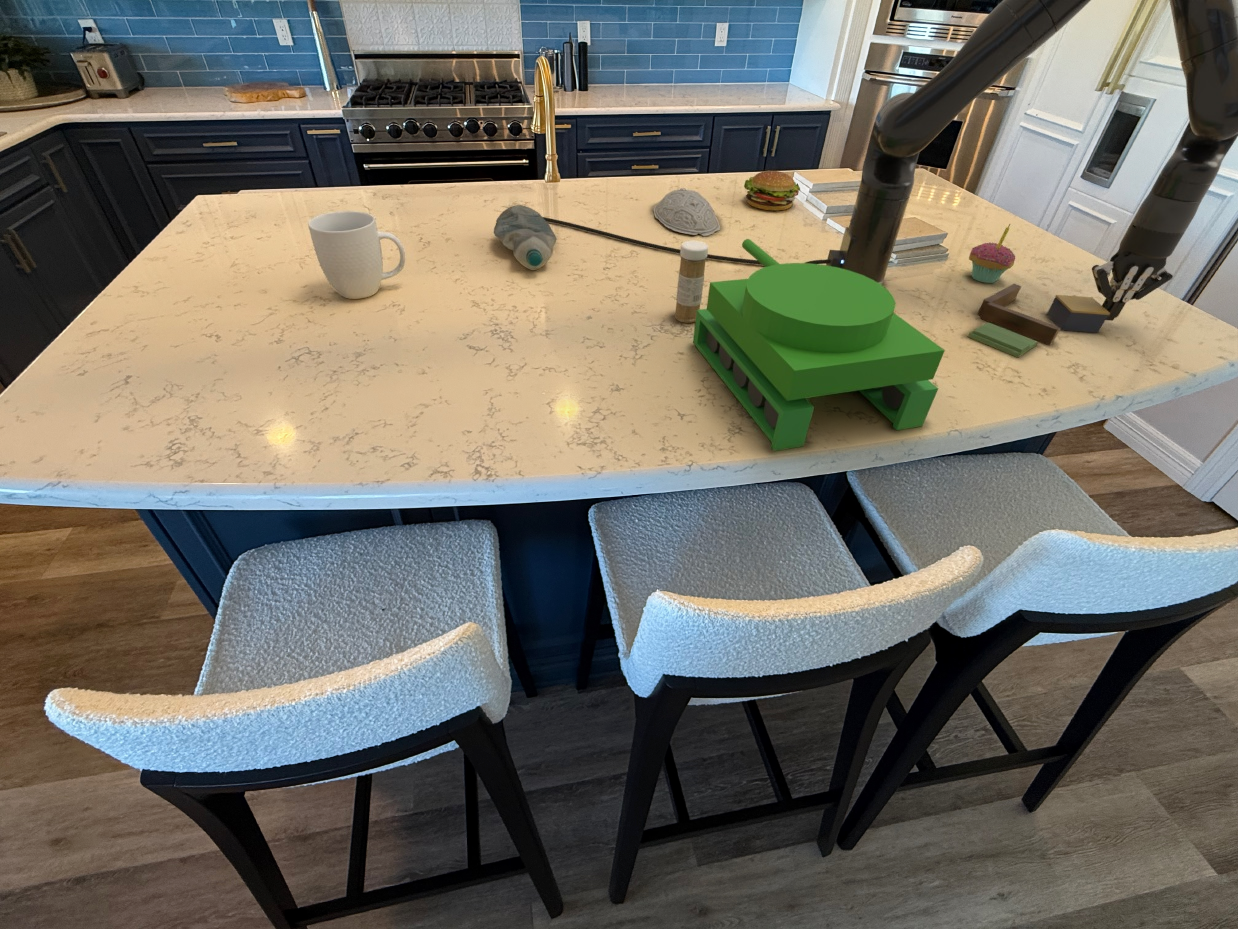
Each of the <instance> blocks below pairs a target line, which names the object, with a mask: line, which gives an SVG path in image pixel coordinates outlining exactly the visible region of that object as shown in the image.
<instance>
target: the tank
mask: <svg viewBox="0 0 1238 929" xmlns="http://www.w3.org/2000/svg"><path fill="white" fill-rule="evenodd" d="M741 247H742V248H743V250H745V251H746V252H747V253H748V254H749V255H750V256H752V258H754V260H758V261H759V262H760V263H761V264H762V265H761V266H764V267H762V268H760V269H757V270H755V271H754V272H753V273H752V274H750V275H749V277H748V278H740V279H739V278H738V279H732V280H729V279H728V280H720V281H719V280H717V281H710V282H709V288H708V296H707V301H706V302H707V303H706V308H702V309H701V308H700V310H697V313H696V321H695V322H694V330H693V338H692V343H693V345H694V346H695V347H696V348H697V350H698V351H699V352H700V353H701V355H702V357H704V358H705V360H706V361H707V362H708V364H709V365H710V366H711V368H712V369H713V370H714V371H715V372H716V374H717V375H718V377H719V378H720V380H722V381H723V383H724V384H725V385H726V386H727V388H728V389H729V390H730V391H731V393H732V394H733V395H734V397H735V398H736V399H737V401H738V402H739V403H740V405H741V406H742V407H743V408H744V409H745V411H746V412H747V413H748V415H749V416H750V417H751V418H752V420H753V421H754V422H755V423H756V425H757V426H758V427H759V428H760V430H761V431H762V432H763V433H764V435H765V436H766V437H767V438H768V440H769V442H771V446H770V447H771V449H772V450H773V451H774V452H777V451H783V450H789V449H795V448H800V447H804V444H805V441H806V439H807V435H808V430H809V428H810V423H811V419H812V417H813V413H814V410H815V407H814V406H813V404H812V403H811V402H810V401H809V400H808V399H809V398H814V397H815V398H816V397H822V396H823V397H824V396H829V395H835V394H843V393H849V392H857V391H858V392H859V393H860V394H861V395H863V397H864V398H865V399H867V400H868V401H869V402H870V404H872V405H873V406H874V407H875V408H876V409H877V410H878V411H879V412H880V413H881V414H883V416H884V417H886V418H887V419H888V420H889V421H890V422H891V423H892V428H893V429H894V430H895V431H901V430H906V429H907V430H908V429H913V428H919V427H923V426H924V424H925V422H926V419H927V416H928V414H929V412H930V409H931V407H932V405H933V403H934V400H935V398H936V395H937V394H938V391H939V387H938V386H937V385H935V384H934V383H932V382H931V381H930V380H934V378H935V375H936V373H937V371H938V369H939V366H940V364H941V361H942V359H943V356H944V354H945V352H946V350H945V349H944V348H943V347H941V346H940V345H938V344H937V343H936V342H935V341H933V340H932V339H930V338H929V337H928V336H926V335H925V334H923V333H922V332H921V331H920V330H918V329H917V328H916V327H914V326H913V325H911V324H910V323H909V322H907V321H906V320H904V319H903V318H902V317H900V316H899V315H898V314H896V313H895V309H896V303H897V302H896V300H895V297H894V295H893V294H892V293H891V292H890V291H889V290H888V289H887V288H886V287H885V286H883V284H882V285H881V284H879V283H877V282H876V281H874V280H872V279H870V278H868V277H866V276H863V275H861V274H858V273H855V272H852V271H849V270H845V269H841V268H837V267H832V266H827V265H826V264H811V263H805V262H788V263H787V262H786V263H780V262H779V261H777V260H776V259H774V258H773V257H772V256H771V255H770V254H769V253H767V252H766V251H765V250H764V249H762V248H761V247H760V246H758V245H757V243H755V242H754V241H752V240H751V239H750V238H746V239H744V240H743V241H742V243H741Z"/></svg>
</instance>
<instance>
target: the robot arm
mask: <svg viewBox="0 0 1238 929" xmlns="http://www.w3.org/2000/svg"><path fill="white" fill-rule="evenodd" d="M1091 1H1092V0H1002V1H1001V2H999V3H998V4H997V6H995V7H994V8H993V10H992V11H991V12H990V13H988V15H987V16H986V17H985V18H984V19H983V20H982V21H981V23H980V24H979V25H978V26H977V27H976V28H975V30H974V31H973V32H972V33H971V35H970V36H969V37H968V39H967V40H966V41H965V43H964V44H963V45H962V46H961V48H960V49H959V51H957V53H956V54H955V56H954V57H953V58H952V59H951V60H950V61H949V62H948V64H946V66H944V67H943V68H942V69H941V70H940V71H939V72H938V73H937V74H935V75H934V76H933V77H932V78H930V80H928V81H927V82H926V83H925V84H923V85H922V86H921V87H920V88H919V89H917V90H916V91H914V92H900V93H898V94H895V95H893V96H891V97H889V99H887V100H886V101H885V102H884V103H883V105H881V107H880V109H879V110H878V112H877V113H876V116H875V119H874V121H873V126H872V129H871V133H870V137H869V141H868V145H867V149H866V153H865V157H864V161H863V166H862V172H861V179H860V184H859V188H858V191H857V194H856V198H855V203H854V207H853V210H852V214H851V218H850V221H849V225H848V226H846V227H845V229H844V233H843V236H842V239H841V242H840V243H841V244H840V247H839V249H829V250H828V255H827V259H815V260H808V261H806V262H804V263H811V264H820V265H827V266H832V267H837V268H841V269H845V270H849V271H852V272H855V273H858V274H861V275H863V276H866V277H868V278H870V279H872V280H874V281H876V282H877V283H879V284H881V285H882V286H883V284H884V281H885V277H886V273H887V269H888V266H889V263H890V260H891V257H892V255H893V251H894V248H895V245H896V242H897V238H898V235H899V231H900V229H901V226H902V223H903V219H904V216H905V213H906V210H907V207H908V204H909V201H910V197H911V194H912V191H913V188H914V184H915V175H916V173H915V172H916V169H917V168H916V166H917V164H918V163H917V162H918V159H919V155H920V153H921V151H923V150H924V149H925V148H926V147H927V146H929V145H930V143H932V141H933V140H935V138H936V137H938V135H939V134H940V133H941V132H942V131H943V130H944V129H946V127H947V126H948V125H950V123H951V122H953V120H955V118H957V117H958V115H960V114H961V113H962V111H963V110H965V108H967V107H968V106H969V105H970V104H972V103H973V102H974V100H975V99H977V98H978V97H980V96H981V95H982V94H983V93H985V92H986V91H987V90H988V89H989V88H991V87H992V86H993V85H995V84H996V83H997V82H998V81H1000V80H1001V79H1002V78H1004V77H1005V76H1006V75H1007V74H1008V73H1009V72H1011V71H1012V70H1013V69H1015V68H1016V67H1017V66H1018V65H1019V64H1021V63H1022V62H1023V61H1025V59H1027V58H1028V57H1030V56H1031V55H1032V54H1033V53H1035V51H1037V50H1038V49H1040V47H1041V46H1043V45H1044V44H1045V43H1046V42H1047V41H1048V40H1050V39H1051V38H1052V37H1053V36H1054V35H1055V34H1056V33H1058V32H1059V31H1061V29H1063V28H1064V27H1065V26H1066V25H1067V24H1068V23H1069V22H1070V21H1071V20H1072V19H1074V17H1076V16H1077V15H1078V14H1079V13H1080V12H1081V11H1082V10H1083V9H1084V8H1085V7H1086V6H1087V5H1088V4H1089V3H1090V2H1091ZM1168 1H1169V6H1170V11H1171V15H1172V21H1173V27H1174V33H1175V39H1176V45H1177V50H1178V56H1179V60H1180V61H1179V62H1180V66H1181V69H1182V72H1183V76H1184V79H1185V86H1186V88H1185V89H1186V102H1187V111H1188V120H1189V121H1188V123H1187V125H1186V126H1185V128H1184V131H1183V133H1182V135H1181V137H1180V139H1179V141H1178V143H1177V145H1176V146H1175V149H1174V151H1173V153H1172V155H1171V156H1170V157H1169V159H1168V160H1167V161H1166V163H1165V164H1164V166H1163V168H1162V169H1161V171H1160V173H1159V174H1158V176H1157V177H1156V180H1155V181H1154V183H1153V185H1152V187H1151V189H1150V191H1149V193H1148V194H1147V195H1146V197H1145V198H1144V200H1143V201H1142V203H1141V204H1140V206H1139V207H1138V209H1137V211H1136V213H1135V215H1134V217H1133V219H1132V220H1131V222H1130V224H1129V226H1128V228H1127V230H1126V231H1125V233H1124V235H1123V237H1122V239H1121V241H1120V242H1119V247H1118V249H1117V251H1116V253H1114V254H1113V255H1112V256H1111V257H1110V259H1109V261H1108V262H1105V263H1103V264H1101V265H1100V264H1095V265H1093V266H1092V267H1091V271H1092V272H1091V273H1092V275H1093V280H1094V283H1095V286H1096V290H1097V292H1098V293H1099V294H1101V295H1102V296H1103V297H1104V301H1103V302H1102V304H1101V305H1102V306H1103V307H1104V308H1105V309H1106V310H1107V311H1108V312H1110V314H1109V315H1108V317H1107V318H1106V320H1105V321H1108V322H1109V321H1115V319H1116V318H1118V317H1119V315H1120V314H1121V313H1122V311H1123V309H1124V307H1125V305H1126V304H1127V303H1128V302H1130V301H1133V300H1136V301H1139V300H1141V299H1143V298H1145V297H1146V296H1147V295H1149V294H1150V293H1152V292H1154V291H1155V290H1157V289H1158V288H1160V287H1161V286H1163V285H1165V284H1166V283H1168V282H1169V281H1171V280H1172V279H1173V274H1172V273H1171V272H1169V271H1168V270H1167V269H1166V268H1165V266H1167V258H1169V257H1170V256H1172V255H1173V253H1174V251H1175V249H1176V248H1177V246H1178V245H1179V242H1181V240H1182V238H1183V236H1184V235H1185V233H1186V231H1187V230H1188V228H1189V226H1190V225H1191V222H1192V221H1193V220H1194V218H1195V217H1196V214H1197V212H1198V209H1199V207H1200V205H1201V203H1202V201H1203V199H1204V198H1205V196H1206V194H1207V193H1208V191H1209V189H1210V188H1211V186H1212V184H1213V182H1214V181H1215V179H1216V177H1217V175H1218V173H1219V171H1220V169H1221V166H1222V163H1223V160H1224V159H1225V157H1226V156H1227V155H1228V152H1229V151H1230V150H1231V148H1232V147H1233V145H1234V143H1235V141H1237V138H1238V0H1168ZM542 217H543V218H544V220H546V221H547V222H548V223H553V224H557V225H561V226H565V227H569V228H574V229H577V230H581V231H585V232H589V233H594V234H596V235H601V236H604V237H608V238H612V239H615V240H620V241H623V242H626V243H631V244H635V245H639V246H643V247H648V248H651V249H656V250H661V251H666V252H670V253H674V254H680V250H681V248H674V247H670V246H665V245H660V244H655V243H651V242H646V241H643V240H639V239H635V238H631V237H627V236H623V235H619V234H614V233H611V232H607V231H603V230H599V229H596V228H592V227H588V226H584V225H581V224H576V223H572V222H568V221H564V220H559V219H556V218H555V219H554V218H552V217H551V218H550V217H547V216H542ZM706 259H711V260H717V261H723V262H731V263H741V264H750V265H760V266H763V265H762V264H761V263H760V262H759V261H758V260H756V259H749V258H739V257H731V256H724V255H716V254H709V253H708V254H707V258H706ZM1111 274H1112V276H1111ZM1110 276H1111V278H1110V280H1109V277H1110Z"/></svg>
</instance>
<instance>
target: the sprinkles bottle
mask: <svg viewBox="0 0 1238 929" xmlns="http://www.w3.org/2000/svg"><path fill="white" fill-rule="evenodd" d="M707 254H709V245H708V244H707V243H705V242H704V241H701V240H686V241H684V242H682V243H681V245H680V253H679V255H680V263H679V272H678V278H677V279H678V280H677V288H676V304H675V313H674V318H675V320H677V321H679V322H680V323H683V324H684V323H685V324H693V323H695V321H696V313H697V310H700V309H701V304H702V298H703V290H704V281H705V272H706V271H705V270H706V262H707V259H708V258H707Z"/></svg>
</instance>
